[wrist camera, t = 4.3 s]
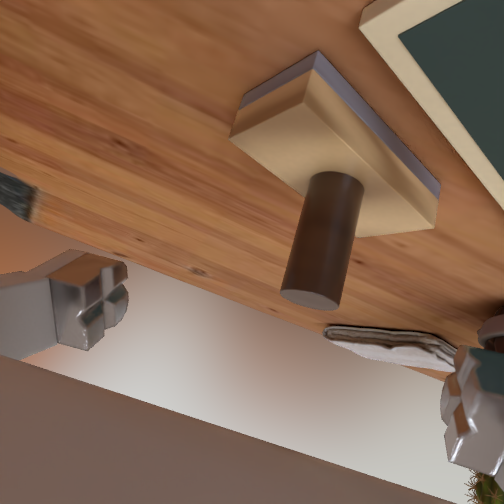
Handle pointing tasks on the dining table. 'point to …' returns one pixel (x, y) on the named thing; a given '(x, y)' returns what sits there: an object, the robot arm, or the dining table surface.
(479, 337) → the flowerpot
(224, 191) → the dining table surface
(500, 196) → the chalkboard
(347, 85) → the eraser
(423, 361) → the washcloth
